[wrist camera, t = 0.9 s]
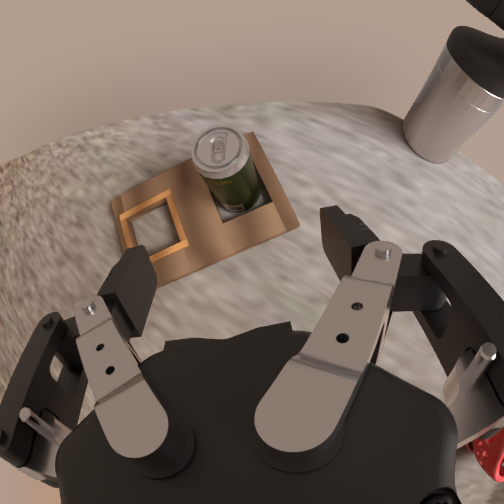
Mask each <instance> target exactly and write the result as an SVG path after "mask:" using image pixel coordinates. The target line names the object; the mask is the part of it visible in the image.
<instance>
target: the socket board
mask: <svg viewBox="0 0 504 504" xmlns="http://www.w3.org/2000/svg"><path fill="white" fill-rule="evenodd" d="M243 136H244V137H245V138H246V140H247V141H248V145H249V148H250V152H251V155H252V159H253V163H254V166H255V168H256V170H257V172H258V174H259V176H260V178H261V180H262V183H263V185H264V187H265V189H266V191H267V193H268V195H269V197H270V199H271V203H269V204H266V205H264V206H262V207H259V208H257V209H255V210H252V211H250V212H248V213H246V214H243V215H241V216H239V217H236V218H234V219H232V220H230V221H227V222H225V223H223V220H222V218H221V215H220V213H219V210H218V208H217V205H216V203H215V200H214V198H213V195H212V193H211V190H210V188H209V187H208V185H207V184H206V183H205V181H204V180H203V178H202V177H201V176H200V174H199V173H198V171H197V170H196V168H195V167H194V165H193V160H192V158H191V159H189V160H187V161H185V162H183V163H181V164H179V165H177V166H175V167H173V168H171V169H169V170H167V171H165V172H163V173H161V174H159V175H157V176H155V177H153V178H152V179H150V180H148V181H146V182H144V183H142V184H140V185H139V186H137V187H135V188H133V189H131V190H130V191H128V192H126V193H124V194H123V195H121V196H119V197H118V198H116V199H114V200H113V201H111V203H112V208H113V213H114V217H115V221H116V226H117V230H118V234H119V238H120V242H121V246H122V250H123V253H125V251H126V249H128V248H131V247H135V246H138V244H137V240H136V237H135V233H134V229H133V225H132V222H131V221H133V220H135V219H137V218H139V217H141V216H142V215H144V214H146V213H148V212H150V211H152V210H154V209H156V208H158V207H160V206H162V205H164V204H166V203H168V205H169V209H170V212H171V215H172V218H173V221H174V224H175V227H176V230H177V233H178V236H179V239H180V242H179V243H177V244H175V245H173V246H171V247H169V248H166V249H164V250H162V251H160V252H158V253H156V254H154V255H152V256H150V257H149V258H150V261H151V263H152V265H153V268H154V270H155V272H156V275H157V281H158V284H157V288H156V289H158V288H160V287H162V286H164V285H167V284H169V283H171V282H174V281H176V280H178V279H180V278H183V277H185V276H187V275H190V274H192V273H194V272H197V271H199V270H201V269H203V268H206V267H208V266H210V265H213V264H215V263H217V262H220V261H222V260H224V259H227V258H229V257H231V256H233V255H236V254H238V253H240V252H243V251H245V250H247V249H250V248H252V247H254V246H257V245H259V244H261V243H264V242H266V241H268V240H270V239H273V238H275V237H277V236H280V235H282V234H284V233H287V232H289V231H291V230H294V229H296V228H298V227H299V225H300V224H299V221H298V219H297V217H296V215H295V213H294V211H293V209H292V207H291V205H290V203H289V201H288V198H287V196H286V194H285V192H284V190H283V188H282V186H281V184H280V182H279V180H278V178H277V176H276V174H275V172H274V170H273V168H272V166H271V164H270V162H269V161H268V159H267V157H266V155H265V153H264V151H263V149H262V147H261V145H260V143H259V141H258V140H257V138H256V136H255V134H254V132H251V133H248V134H246V135H243Z"/></svg>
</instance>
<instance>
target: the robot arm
mask: <svg viewBox="0 0 504 504" xmlns="http://www.w3.org/2000/svg"><path fill="white" fill-rule="evenodd" d="M466 1H467V2H468V3H470V4H471V5H472V6H473V7H474V8H476V9H477V10H478V11H479V12H480V13H482V14H483V15H485V16H486V17H488V18H489V19H490V20H491V21H492V22H494V23H495V24H496V25H498V26H499V27H500V28H501V29H503V30H504V0H466ZM503 104H504V38H498V37H495V36H492V35H489V34H486V33H484V32H481V31H479V30H476V29H474V28H471V27H467V26H458V27H456V28H454V29H453V31H452V32H451V34H450V36H449V38H448V40H447V43H446V44H445V47H444V48H443V51H442V52H441V54H440V56H439V58H438V60H437V62H436V64H435V66H434V68H433V70H432V72H431V73H430V75H429V77H428V79H427V81H426V82H425V85H424V86H423V88H422V89H421V91H420V93H419V95H418V97H417V98H416V100H415V102H414V103H413V105H412V107H411V109H410V110H409V112H408V114H407V116H406V117H405V119H404V121H403V133H404V136H405V138H406V140H407V142H408V144H409V145H410V146H411V148H412V149H413V150H414V151H415V152H416V153H417V154H418V155H420V156H421V157H422V158H424V159H426V160H427V161H430V162H433V163H443V162H446V161H447V160H448V159H449V158H450V157H452V156H453V155H454V154H455V153H456V152H457V151H458V150H459V149H460V148H461V147H462V146H463V145H464V144H465V143H466V142H467V141H468V140H469V139H470V138H471V137H472V136H473V135H474V134H475V133H476V132H477V131H478V130H479V129H480V128H481V127H482V126H483V125H484V124H485V123H486V122H487V121H488V120H489V119H490V118H491V117H492V116H493V115H494V114H495V113H496V112H497V110H498V109H499V108H500V107H501V106H502V105H503ZM320 221H321V233H322V244H323V248H324V252H325V254H326V256H327V258H328V259H329V261H330V263H331V265H332V267H333V269H334V270H335V272H336V274H337V276H338V278H339V280H340V284H339V285H338V287H337V289H336V291H335V293H334V295H333V297H332V298H331V300H330V302H329V304H328V306H327V307H326V309H325V311H324V313H323V314H322V316H321V318H320V320H319V321H318V323H317V325H316V327H315V328H314V330H313V332H307V331H292V327H291V323H290V321H289V322H284V323H279V324H274V325H269V326H264V327H258V328H256V329H253V330H250V331H248V332H245V333H242V334H239V335H237V336H234V337H231V338H228V339H205V338H188V339H180V340H172V341H165V346H164V350H163V351H161V352H159V353H156V354H154V355H152V356H150V357H149V358H147V359H146V360H144V361H143V362H142V360H141V359H140V357H139V356H138V354H137V352H136V351H135V349H134V347H133V346H132V344H131V343H130V341H129V340H130V338H133V337H141V336H142V333H143V329H144V326H145V323H146V319H147V316H148V313H149V310H150V307H151V303H152V300H153V297H154V294H155V291H156V288H157V284H158V281H157V275H156V272H155V270H154V268H153V265H152V263H151V261H150V258H149V256H148V253H147V251H146V249H145V247H144V246H143V245H140V246H135V247H131V248H128V249H126V251H125V253H124V254H123V256H122V258H121V259H120V261H119V262H118V263H117V264H116V265H115V266H114V267H113V268H112V269H111V271H110V273H109V276H107V278H106V281H104V283H103V285H102V287H101V288H100V290H99V292H98V294H97V296H92V297H89V298H87V299H85V300H84V301H83V302H81V303H80V304H79V305H78V307H77V308H76V310H75V316H74V317H72V318H69V319H67V320H63V319H62V317H61V316H60V314H59V313H58V312H52V313H50V314H48V315H46V316H45V317H44V318H42V319H41V321H40V322H39V323H38V325H37V327H36V328H35V330H34V332H33V334H32V336H31V338H30V340H29V342H28V343H27V345H26V347H25V349H24V351H23V353H22V356H21V358H20V360H19V362H18V364H17V366H16V368H15V370H14V373H13V375H12V377H11V380H10V382H9V384H8V387H7V389H6V392H5V394H4V397H3V399H2V402H1V405H0V457H1V458H3V459H4V460H6V461H7V462H9V463H10V464H11V465H12V466H14V467H15V468H17V469H18V470H20V471H22V472H24V473H25V474H27V475H29V476H31V477H32V478H34V479H37V480H40V481H42V482H44V483H46V484H48V485H49V486H52V487H54V488H59V490H60V497H61V504H461V502H460V500H459V498H458V495H457V492H456V488H455V475H454V474H455V457H456V450H457V449H458V448H460V447H462V446H464V445H465V444H467V443H469V442H471V441H473V440H474V439H476V438H479V439H482V440H486V439H489V438H492V437H493V436H494V435H496V434H497V433H498V432H499V431H500V430H502V429H503V428H504V301H503V300H502V299H501V297H500V296H499V295H498V294H497V293H496V291H495V290H494V289H493V288H492V287H491V286H490V284H489V283H488V282H487V281H486V280H485V279H484V278H483V277H482V275H481V274H480V273H479V272H478V271H477V270H476V269H475V268H474V267H473V266H472V265H471V264H470V263H469V262H468V260H467V259H466V258H465V257H464V256H463V255H462V254H461V253H460V252H459V251H458V250H457V249H456V248H455V247H454V246H452V245H451V244H449V243H447V242H444V241H439V240H432V241H428V242H426V243H425V244H424V245H423V249H422V254H403V253H402V250H401V248H400V247H399V246H398V245H396V244H394V243H392V242H388V241H380V240H379V239H378V237H377V236H376V235H375V234H374V233H373V232H372V231H371V230H370V229H369V228H368V227H367V226H366V225H365V224H364V222H363V221H362V220H361V219H360V218H358V217H356V216H354V215H352V214H345V213H344V212H343V211H342V210H341V209H340V208H339V207H338V206H337V205H335V206H330V207H324V208H320ZM446 298H448V299H449V301H450V303H451V306H450V304H449V303H448V302H447V300H446ZM397 311H413V313H414V315H415V317H416V318H417V320H418V322H419V323H420V325H421V327H422V329H423V331H424V332H425V334H426V336H427V338H428V340H429V342H430V343H431V345H432V347H433V349H434V351H435V353H436V355H437V357H438V359H439V361H440V363H441V365H442V367H443V369H444V371H445V373H446V375H447V377H448V378H447V380H446V381H445V384H444V388H443V392H444V397H445V403H446V405H445V404H444V403H443V402H442V401H441V400H439V399H438V398H436V397H435V396H433V395H431V394H429V393H427V392H425V391H423V390H421V389H419V388H418V387H416V386H414V385H412V384H410V383H408V382H406V381H404V380H402V379H401V378H399V377H397V376H395V375H393V374H391V373H389V372H388V371H386V370H384V369H382V368H380V367H379V366H377V364H378V361H379V358H380V354H381V351H382V348H383V345H384V342H385V339H386V335H387V332H388V329H389V326H390V322H391V319H392V315H393V312H397ZM54 355H55V356H56V357H57V358H58V359H59V361H60V362H61V363H62V364H63V367H62V370H61V373H60V376H59V378H58V381H57V382H56V381H55V380H54V379H53V377H52V376H51V374H50V364H51V362H52V359H53V357H54ZM88 381H89V384H90V387H91V390H92V392H93V395H94V398H95V400H96V404H95V405H94V408H95V409H94V410H93V411H92V412H91V413H90V414H89V415H88V416H87V417H86V418H85V419H84V420H83V421H82V422H81V423H80V424H79V425H78V426H77V423H78V419H79V415H80V411H81V407H82V403H83V399H84V395H85V391H86V388H87V384H88Z"/></svg>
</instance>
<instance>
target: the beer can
mask: <svg viewBox="0 0 504 504" xmlns="http://www.w3.org/2000/svg"><path fill="white" fill-rule="evenodd" d="M191 154H192V160H193V165H194V167H195V168H196V170H197V171H198V173H199V174H200V176H201V177H202V178H203V180H204V181H205V183H206V184H207V185H208V187H209V188H210V190H211V191H212V192H213V194H214V195H215V197H216V198H217V199H218V201H219V202H220V204H221V205H222V206H223V207H224V208H225V209H227V210H229V211H232V212H243V211H246V210H248V209H250V208H251V207H253V206H254V205H255V203H256V202H257V201H258V198H259V196H260V187H259V183H258V179H257V175H256V171H255V167H254V163H253V159H252V155H251V152H250V148H249V145H248V141H247V140H246V138H245V137H244V136H243V135H242V134H241V132H240V131H239V130H237V129H236V128H234V127H232V126H227V125H216V126H213V127H210V128H208V129H206V130H204V131H203V132H201V133H200V134H199V135H198V137H197V138H196V139H195V141H194V143H193V145H192V150H191Z"/></svg>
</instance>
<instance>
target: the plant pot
mask: <svg viewBox="0 0 504 504" xmlns="http://www.w3.org/2000/svg"><path fill="white" fill-rule="evenodd" d="M465 445H466V448H467V449H468V450H469V451H471V452H474V454H475V457H476V459H477V461H478V463H479V464H480V466H481V467H482V468H483V470H484V471H485V472H486V473H487V474H488V475H489V476H490V477H491V478H492V479H493V480H495V481H496V482H502V481H504V467H503V466H502V464H503V463H504V428H503V429H502V430H500V431H499V432H498V433H497V434H496V435H494V436H493V437H492V438H489V439H486V440H482V439H479V438H476V439H474V440H473V441H471V442H469V443H467V444H465Z"/></svg>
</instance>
